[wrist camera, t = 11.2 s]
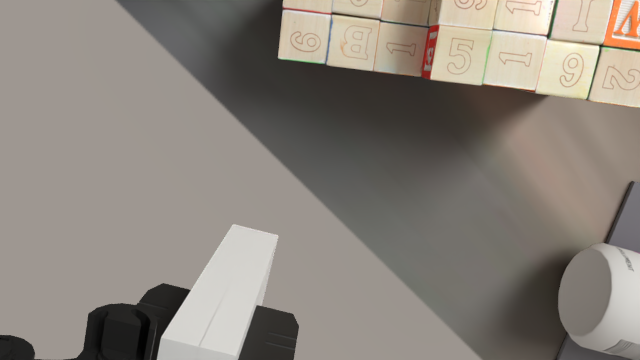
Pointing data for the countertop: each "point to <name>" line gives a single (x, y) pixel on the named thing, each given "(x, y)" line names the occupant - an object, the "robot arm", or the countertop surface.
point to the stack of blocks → (477, 42)
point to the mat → (628, 233)
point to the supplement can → (603, 300)
